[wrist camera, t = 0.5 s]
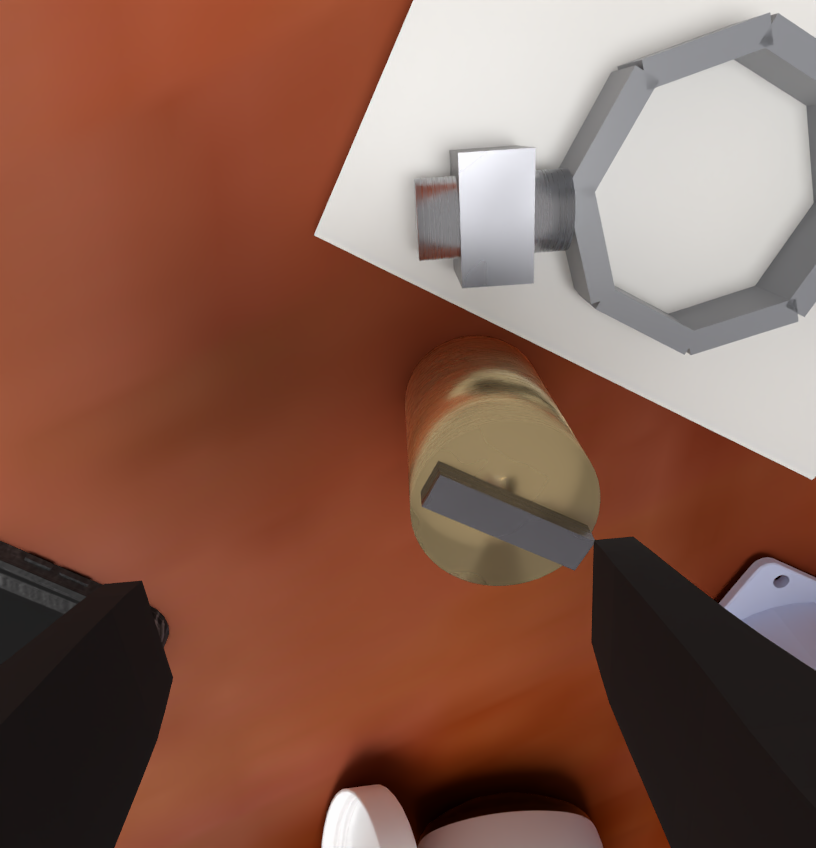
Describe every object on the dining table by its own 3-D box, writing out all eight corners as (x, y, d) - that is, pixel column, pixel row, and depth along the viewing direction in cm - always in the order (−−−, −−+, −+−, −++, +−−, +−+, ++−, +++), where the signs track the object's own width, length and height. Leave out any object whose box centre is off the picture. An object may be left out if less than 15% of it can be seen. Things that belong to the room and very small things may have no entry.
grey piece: (555, 142, 15) (579, 144, 13) (551, 262, 17) (573, 280, 15) (411, 152, 15) (414, 155, 13) (418, 271, 17) (422, 291, 15)
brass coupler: (566, 371, 19) (648, 483, 13) (498, 480, 20) (543, 627, 14) (444, 312, 18) (470, 402, 12) (382, 430, 20) (378, 563, 14)
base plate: (1049, 152, 17) (1158, 155, 14) (793, 464, 20) (846, 508, 18) (508, -219, 14) (533, -294, 11) (318, 229, 17) (306, 245, 15)
